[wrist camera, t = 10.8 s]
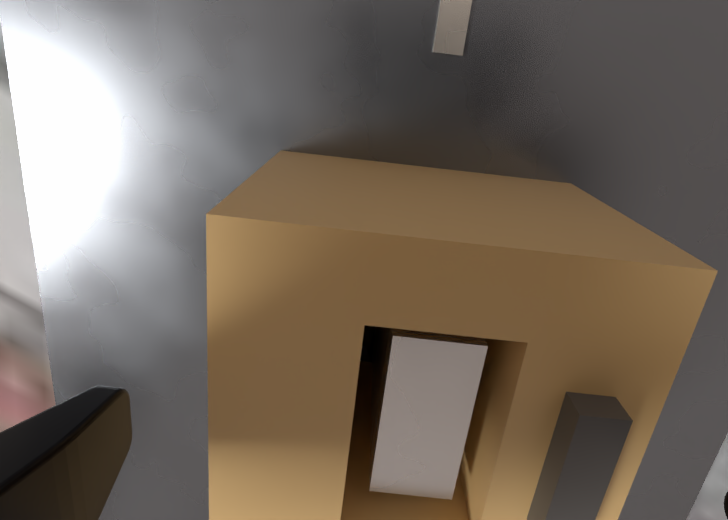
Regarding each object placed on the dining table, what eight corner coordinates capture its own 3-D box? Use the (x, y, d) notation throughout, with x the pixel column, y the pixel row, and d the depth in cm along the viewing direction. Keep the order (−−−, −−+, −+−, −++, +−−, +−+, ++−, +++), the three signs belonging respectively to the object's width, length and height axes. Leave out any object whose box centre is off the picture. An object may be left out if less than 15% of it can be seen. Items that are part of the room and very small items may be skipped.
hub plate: (636, 559, 16) (756, 784, 11) (91, 502, 16) (-44, 708, 11) (922, -82, 10) (1530, -248, 5) (5, -199, 9) (-439, -515, 4)
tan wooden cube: (280, 150, 11) (191, 226, 6) (570, 183, 11) (745, 287, 6) (269, 393, 13) (199, 604, 8) (508, 418, 13) (592, 643, 8)
